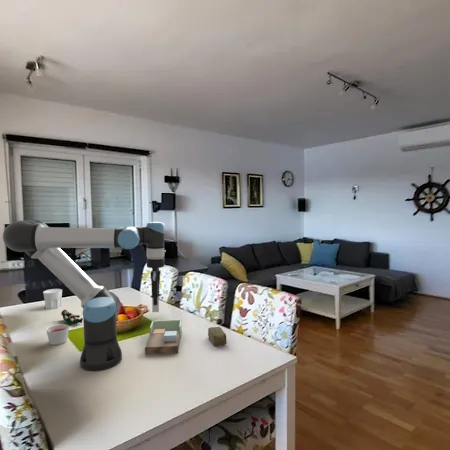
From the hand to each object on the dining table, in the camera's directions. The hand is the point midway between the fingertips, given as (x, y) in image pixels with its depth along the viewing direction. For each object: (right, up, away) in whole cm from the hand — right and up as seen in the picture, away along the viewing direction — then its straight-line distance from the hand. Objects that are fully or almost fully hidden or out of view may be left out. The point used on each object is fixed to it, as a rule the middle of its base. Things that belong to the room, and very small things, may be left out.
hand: (155, 311), depth 142 cm
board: (+4, -14, -4) cm, 15 cm away
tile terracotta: (0, -13, +6) cm, 14 cm away
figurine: (-50, -13, +27) cm, 58 cm away
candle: (-44, -14, +2) cm, 46 cm away
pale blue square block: (+7, -11, -3) cm, 13 cm away
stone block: (+27, -14, +1) cm, 30 cm away
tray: (+3, -13, +8) cm, 16 cm away
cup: (-73, -12, +54) cm, 92 cm away
